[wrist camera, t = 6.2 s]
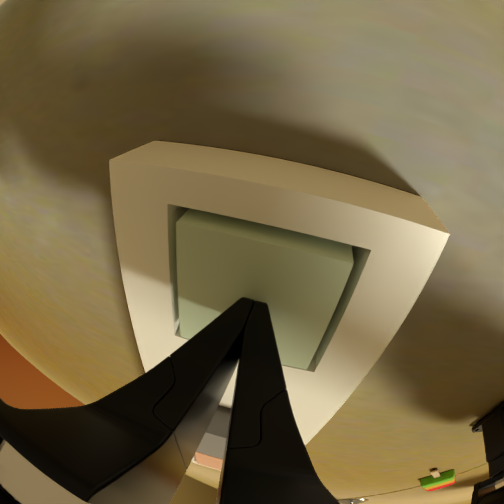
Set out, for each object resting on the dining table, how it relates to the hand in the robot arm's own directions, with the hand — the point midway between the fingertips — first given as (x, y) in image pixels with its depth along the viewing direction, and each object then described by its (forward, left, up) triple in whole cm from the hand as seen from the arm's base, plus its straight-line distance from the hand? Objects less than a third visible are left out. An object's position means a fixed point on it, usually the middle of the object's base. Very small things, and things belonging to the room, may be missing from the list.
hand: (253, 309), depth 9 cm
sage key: (0, 0, -2) cm, 2 cm away
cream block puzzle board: (0, +11, -3) cm, 11 cm away
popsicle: (-33, +32, -4) cm, 46 cm away
